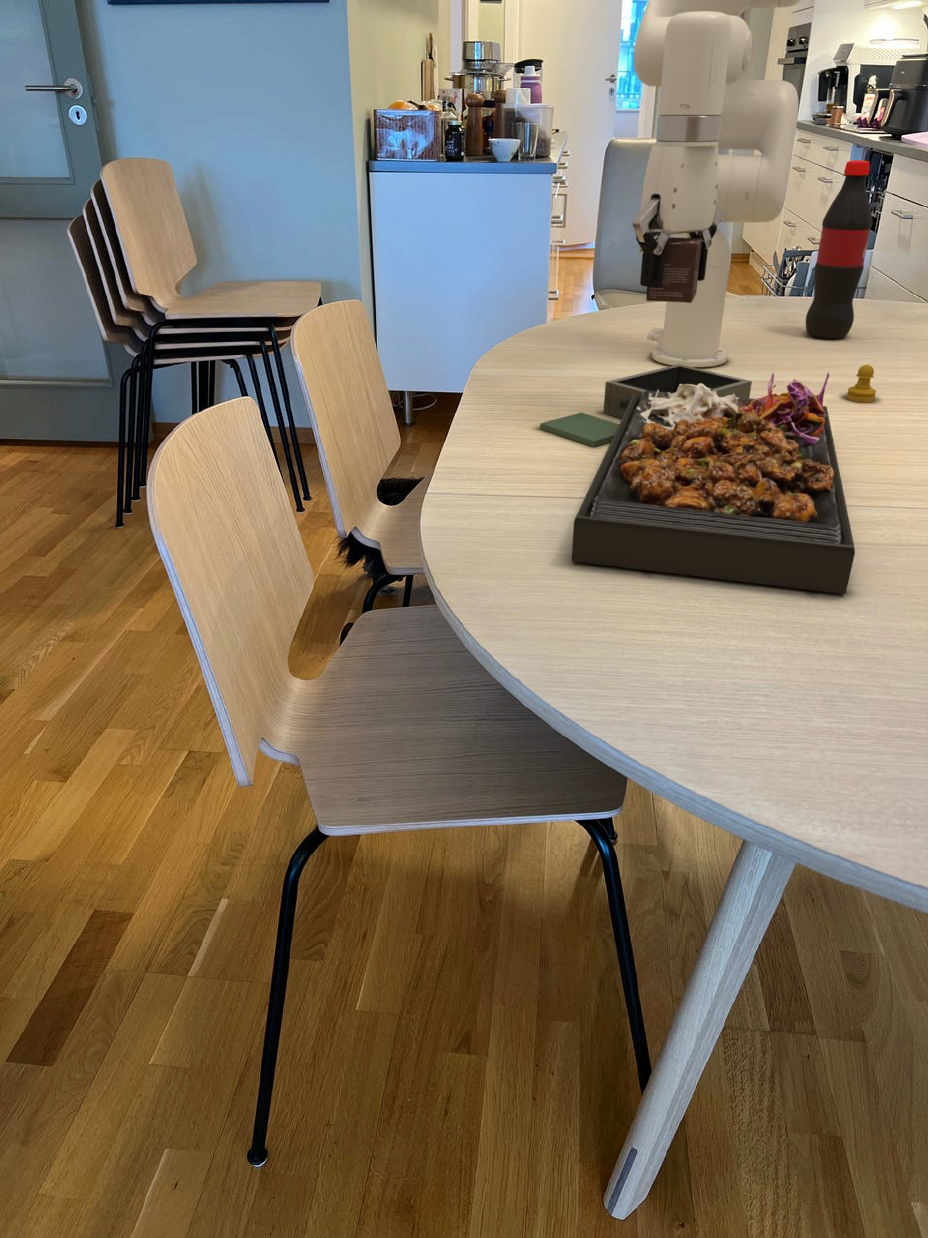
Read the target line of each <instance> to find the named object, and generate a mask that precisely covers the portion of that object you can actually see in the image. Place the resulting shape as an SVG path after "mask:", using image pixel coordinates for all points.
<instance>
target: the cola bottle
mask: <svg viewBox="0 0 928 1238" xmlns="http://www.w3.org/2000/svg"><path fill="white" fill-rule="evenodd" d="M870 168H871V163H870V161H868V160H862V159H861V160H860V159H858V160H857V159H856V160H854V159H853V160H848V161H846V164H845V167H844V172H843V177H845V178H844V180H843V183H842V186H841V188H840V190H839V192H838V193H837V195H836V196H835V198H834V199H833V201H832V203H831V204H830V206H829V208H828V210H827V212H826V213H825V216H824V217H823V220H822V223H821V226H822V228H821V232H820V233H821V234H820V239H819V245H818V251H817V257H816V263H814V281H813V282H814V283H813V284H814V285H813V300H812V302H811V304H810V306H809V308H808V310H807V312H806V316H805V330H806V332H807V334H808V335H809V336H811V337H812V338H816V339H820V340H840V339H843V338H844V337H846V336H847V335H848V334H849V333H850V331H851V329H852V327H853V324H854V321H855V312H854V303H853V301H854V298H855V295H856V292H857V289H858V287H859V285H860V284H859V283H860V280H861V277H862V275H863V272H864V268H865V260H866V253H867V249H868V244H869V238H870V233H871V229H872V227H873V215H872V210H871V205H870V200H869V197H868V193H867V180H866V179H867V178H868V177H869V174H870Z"/></svg>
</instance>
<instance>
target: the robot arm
mask: <svg viewBox="0 0 928 1238" xmlns="http://www.w3.org/2000/svg"><path fill="white" fill-rule="evenodd" d="M801 1H802V0H649V1H648V3H647V4H646V6H645V8H644V11H643V15H642V18H641V21H640V23H639V26H638V30H637V33H636V37H635V43H634V49H633V68H634V72H635V75H636V77H637V78H638V80H639V81H640V82H641V83H642V84H643V85H646V86H648V87H657V88H658V87H660V93H659V102H658V103H659V105H658V117H657V129H656V139H655V140H656V141H655V145H652V147H651V150H650V153H649V157H648V160H647V165H646V170H645V174H644V180H643V186H642V193H641V201H640V207H639V208H640V209H639V212H638V213H637V214H636V215H635V216H634V218H633V219H632V222H631V225H632V227H633V230H634V233H635V239H636V242H637V243H638V245H639V253H641V254H642V256H641V266H640V267H641V270H640V280H639V285H640V286H641V287H646V288H647V287H652V288H661V287H662V283H663V273H664V263H665V255H662V254H661V253H662V251H663V249H664V247H665V245H666V242H667V240H668V238H669V237H671V236H672V237H676V238H702V246H701V255H700V263H699V272H698V282H697V291H696V295H695V297H694V299H693V301H692V302H691V303H685V302H665V303H666V304H665V312H664V323H663V328H660V327H657V326H655V327H652V328H651V330H650V331H649V332H648V333H647V335H646V339H647V340H648V341H653V342H657V343H656V348H655V347H654V349H652V353H651V354H652V355H651V358H652V359H653V361H655V362H658V363H661V364H663V365H667V366H673V365H677V364H680V365H685V366H689V367H693V368H710V367H717V366H720V365H723V364H724V363H726V362H727V359H728V353H726V352H725V351H724V350H723V349H720V340H721V333H722V327H723V326H722V324H723V317H724V309H725V304H726V303H725V302H726V294H727V287H728V280H729V271H730V265H731V253H732V252H731V246H730V244H729V241H728V240H727V238H726V236H725V235H724V233H723V231H722V230H721V228H720V227H719V224H720V223H727V222H728V223H729V222H730V223H769V222H771V221H774V220H775V219H777V218H778V217H779V216H780V214H781V213H782V211H783V209H784V205H785V202H786V198H787V192H788V185H789V180H790V172H791V166H792V160H793V159H792V158H793V153H794V147H795V139H796V132H797V126H798V118H799V117H798V116H799V96H798V95H799V94H798V92H797V89H796V86H795V85H793V84H792V83H791V82H789V81H786V80H781V79H754V74H755V67H756V60H757V55H758V47H757V44H756V41H755V39H754V36H753V34H752V31H751V30H750V27H749V26H748V23H747V22H746V21H745V20H744V19H743V18H742V17H740V16H741V15H742V14H743V13H744V12H745V10H747V9H774V8H775V9H776V8H778V9H779V8H789V7H794V6H796V5H798V4H800V2H801ZM719 150H741V151H742V150H744V151H745V150H748V151H749V150H751V151H758V152H759V153H760V155H758V154H757V155H755V154H753V155H751V154H749V155H747V154H746V155H745V154H719ZM656 237H659V238H658V240H657V242H656V240H655V239H656Z"/></svg>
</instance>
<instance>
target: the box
mask: <svg viewBox="0 0 928 1238" xmlns="http://www.w3.org/2000/svg"><path fill="white" fill-rule="evenodd" d="M658 238H659V236H656V237H655V238H654V239H655V240H656V242H657V240H658ZM701 246H702V238H676V237H673V236H669V238H668V240H667V242H666V245H665V247H664V249H663V251H662V253H661V254H662V255H665V263H664V273H663V283H662V287H661V288H652V287H646V294H645V295H646V297H645V300H646V302H663V303H666V302H685V303H691V302H692V301H693V299H694V297H695V295H696V291H697V282H698V272H699V263H700V255H701Z"/></svg>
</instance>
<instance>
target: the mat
mask: <svg viewBox="0 0 928 1238" xmlns="http://www.w3.org/2000/svg"><path fill="white" fill-rule="evenodd" d="M619 424H620V423H618V422H614V421H611V420H607V419H604V418H602V417H597V416H595V415H591V414H588V413H585V412H582V411H581V412H578V413H574V414H569V415H567V416H563V417H559V418H556V419H551V420H547V421H543V422H540V423H539V429H540V430H541V431H544V432H545V431H546V432H548V433H552V434H554V435H557V436H560V437H564V438H566V439H569V440H572V441H576V442H578V443H581V444H584V445H587V446H590V447H593V448H595V447H598V446H601V445H605V444H608V443H611V441H612V439H613V437H614V435H615V433H616V430H617V428H618V426H619Z"/></svg>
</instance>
